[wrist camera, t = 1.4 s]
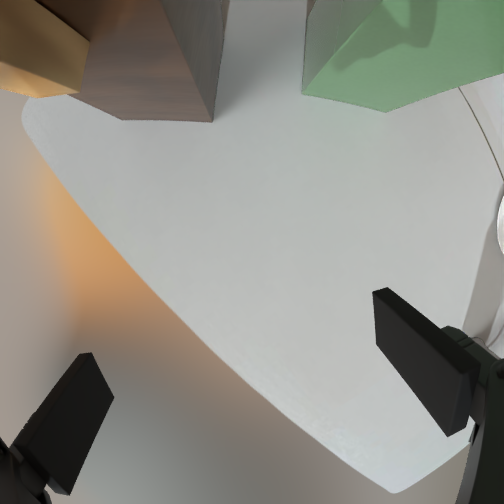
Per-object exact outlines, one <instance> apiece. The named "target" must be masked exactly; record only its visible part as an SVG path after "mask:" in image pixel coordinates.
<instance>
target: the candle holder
mask: <svg viewBox="0 0 504 504" xmlns="http://www.w3.org/2000/svg"><path fill="white" fill-rule="evenodd" d="M497 236H498V242H499V246H500V248H501V251H502V253H503V254H504V196H503V198H502V201H501V204H500V208H499V212H498V219H497Z"/></svg>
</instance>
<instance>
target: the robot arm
mask: <svg viewBox="0 0 504 504" xmlns="http://www.w3.org/2000/svg"><path fill="white" fill-rule="evenodd" d="M372 294H373V305H374V318H375V333H376V345H377V346H378V347H379V349H380V350H381V351H382V352H383V354H384V355H385V356H386V357H387V359H388V360H389V361H390V362H391V364H392V365H393V366H394V368H395V369H396V370H397V371H398V373H399V374H400V375H401V377H402V378H403V379H404V380H405V382H406V383H407V384H408V386H409V387H410V388H411V389H412V391H413V392H414V393H415V395H416V396H417V397H418V399H419V400H420V401H421V403H422V404H423V405H424V407H425V408H426V409H427V411H428V412H429V413H430V415H431V416H432V417H433V419H434V420H435V421H436V423H437V424H438V425H439V427H440V428H441V429H442V431H443V432H444V433H445V435H446V436H447V437H449V436H451V435H453V434H455V433H457V432H458V431H460V430H462V429H464V428H466V425H467V422H468V418H469V415H470V416H471V418H472V419H473V420H474V421H475V424H474V428H473V431H472V434H471V436H470V439H469V442H471V444H470V449H469V454H468V458H467V463H466V467H465V471H464V475H463V479H462V483H461V486H460V490H459V493H458V497H457V500H456V503H455V504H504V358H503V359H499V360H498V359H497V358H495V357H494V356H493V355H492V354H490V353H489V352H488V351H487V350H485V349H484V348H483V347H482V346H480V345H479V344H478V343H477V342H476V343H475V341H474V340H473V339H471V338H470V337H469V338H468V335H466V334H465V333H464V332H462V331H461V330H460V329H457V328H454V327H451V326H446V327H444V328H441V329H440V328H439V327H437V326H436V325H435V324H434V323H433V322H431V321H430V320H429V319H428V318H426V317H425V316H424V315H423V314H421V313H420V312H419V311H418V310H416V309H415V308H414V307H412V306H411V305H410V304H409V303H407V302H406V301H405V300H404V299H402V298H401V297H400V296H398V295H397V294H396V293H395V292H393V291H392V290H391V289H389V288H388V287H386V288H383V289H380V290H376V291H373V292H372ZM113 399H114V396H113V394H112V392H111V390H110V388H109V387H108V384H107V382H106V381H105V379H104V377H103V375H102V373H101V371H100V369H99V367H98V365H97V363H96V361H95V359H94V356H93V354H92V353H83V354H79V355H78V356H77V358H76V359H75V360H74V362H73V363H72V364H71V365H70V367H69V368H68V369H67V371H66V372H65V373H64V374H63V376H62V377H61V378H60V380H59V381H58V382H57V384H56V385H55V386H54V388H53V389H52V390H51V392H50V393H49V394H48V396H47V397H46V398H45V400H44V401H43V402H42V404H41V405H40V406H39V408H38V409H37V411H36V412H34V413H33V414H32V416H31V417H30V419H29V420H28V423H26V424H25V426H24V427H23V428H24V429H22V430H21V431H20V433H19V434H18V436H17V437H16V439H15V440H14V441H13V443H12V444H11V446H10V448H8V447H7V446H6V444H5V443H4V442H3V440H2V439H1V438H0V504H52V502H51V500H50V496H49V494H48V493H47V491H46V490H45V489H44V488H45V486H46V484H48V486H49V487H50V488H51V489H52V490H53V491H54V492H55V493H58V494H64V495H70V494H71V492H72V489H73V487H74V484H75V482H76V480H77V477H78V475H79V473H80V470H81V468H82V466H83V464H84V461H85V459H86V457H87V454H88V452H89V450H90V448H91V446H92V444H93V441H94V439H95V437H96V435H97V433H98V431H99V429H100V426H101V424H102V422H103V420H104V418H105V416H106V413H107V411H108V409H109V407H110V405H111V403H112V401H113Z"/></svg>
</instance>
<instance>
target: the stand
mask: <svg viewBox="0 0 504 504" xmlns="http://www.w3.org/2000/svg"><path fill="white" fill-rule="evenodd" d="M35 1H36V2H37V3H39V4H40V5H41V6H43V7H44V8H46V9H47V10H48V11H50V12H51V13H52V14H54V15H55V16H56V17H58V18H59V19H60V20H62V21H63V22H64V23H66V24H67V25H68V26H70V27H71V28H72V29H74V30H75V31H76V32H78V33H79V34H80V35H81V36H83V37H84V38H85V39H87V40H88V41H89V42H90V45H89V49H88V54H87V58H86V63H85V68H84V73H83V78H82V83H81V89H80V92H79V93H73V94H67V95H69V96H71V97H73V98H76V99H78V100H80V101H82V102H85V103H87V104H89V105H91V106H93V107H95V108H98V109H100V110H102V111H104V112H106V113H108V114H110V115H112V116H115V117H117V118H119V119H121V120H171V121H195V122H211V123H212V122H213V115H214V107H215V99H216V91H217V84H218V77H219V70H220V63H221V56H222V49H223V43H224V33H223V20H222V8H221V0H35Z"/></svg>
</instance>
